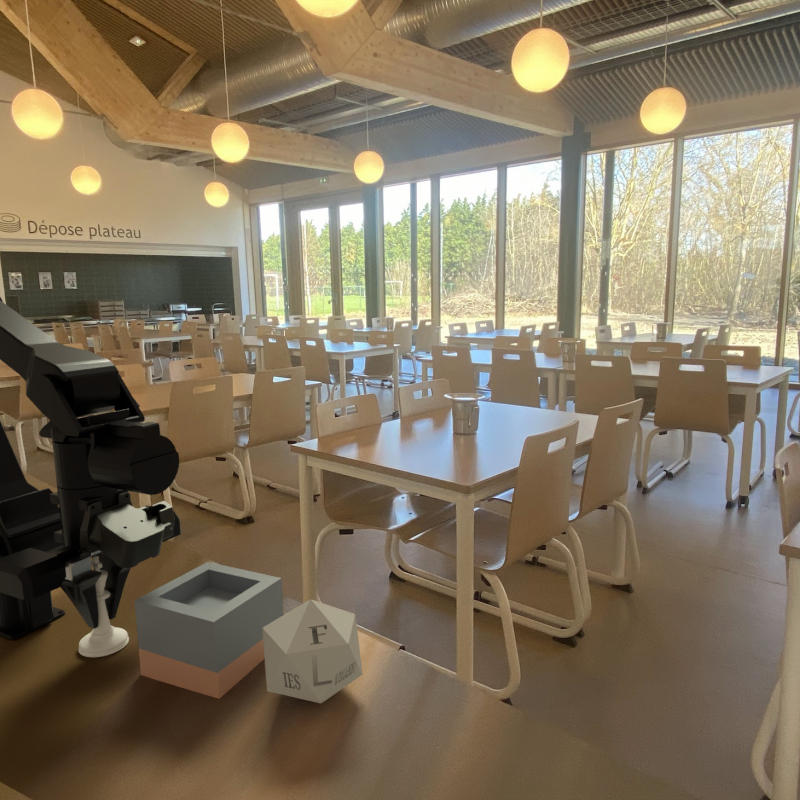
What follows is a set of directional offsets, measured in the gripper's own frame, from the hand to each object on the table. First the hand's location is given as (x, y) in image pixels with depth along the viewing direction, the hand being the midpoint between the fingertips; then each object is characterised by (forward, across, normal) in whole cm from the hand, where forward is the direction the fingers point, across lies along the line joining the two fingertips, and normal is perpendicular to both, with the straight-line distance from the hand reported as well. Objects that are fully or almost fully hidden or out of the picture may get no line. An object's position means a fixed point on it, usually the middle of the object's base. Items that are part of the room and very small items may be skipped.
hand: (102, 622), depth 69 cm
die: (+3, +2, -26) cm, 26 cm away
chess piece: (+3, 0, 0) cm, 3 cm away
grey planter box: (+3, +3, -13) cm, 14 cm away
